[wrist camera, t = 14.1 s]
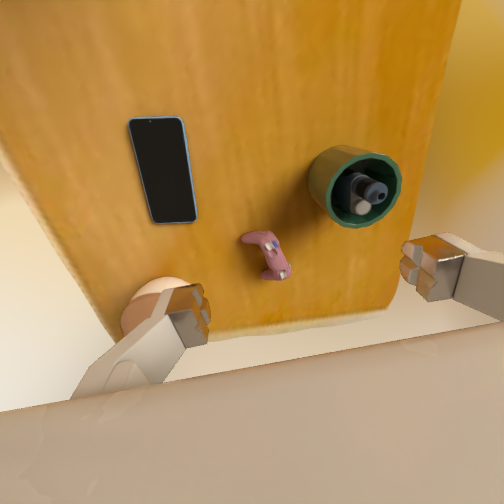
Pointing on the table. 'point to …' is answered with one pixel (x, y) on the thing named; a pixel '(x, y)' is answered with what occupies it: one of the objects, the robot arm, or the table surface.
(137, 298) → the lidded bowl
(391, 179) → the pen cup
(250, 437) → the robot arm
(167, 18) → the table surface
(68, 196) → the table surface
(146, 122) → the smartphone
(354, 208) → the vaping device
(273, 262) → the video game controller
